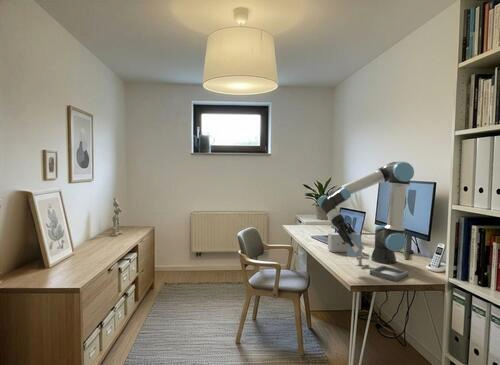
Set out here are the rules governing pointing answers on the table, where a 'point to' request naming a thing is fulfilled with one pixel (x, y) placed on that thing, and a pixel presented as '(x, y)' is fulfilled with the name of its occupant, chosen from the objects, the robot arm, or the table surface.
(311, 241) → the table surface
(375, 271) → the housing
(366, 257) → the pipe connector
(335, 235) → the stereo radio cassette player
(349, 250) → the block
